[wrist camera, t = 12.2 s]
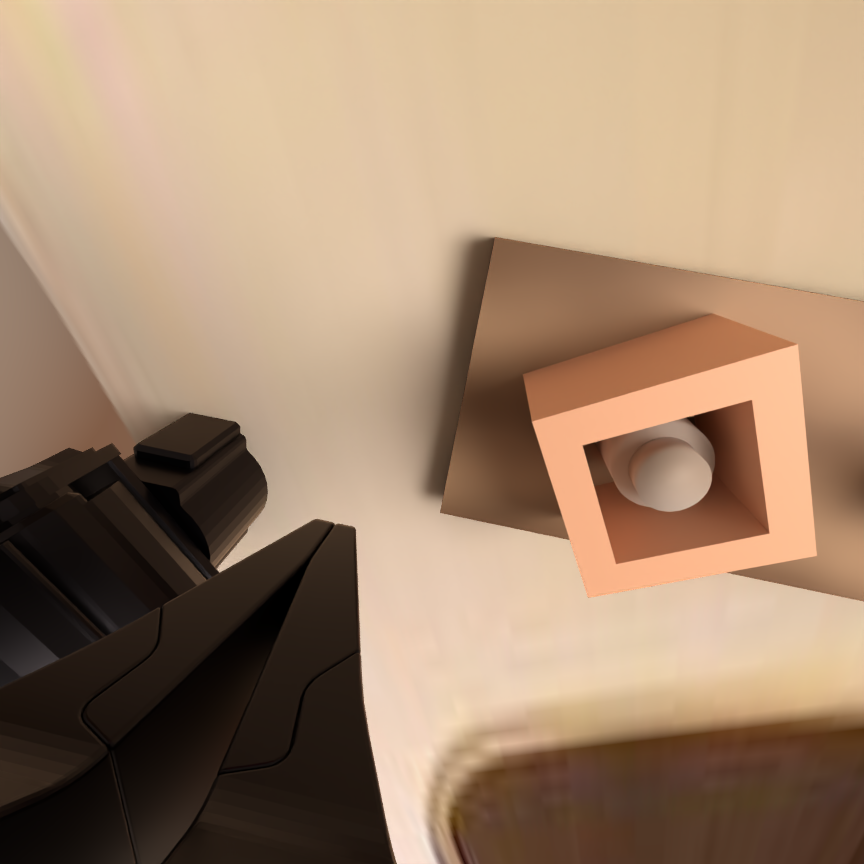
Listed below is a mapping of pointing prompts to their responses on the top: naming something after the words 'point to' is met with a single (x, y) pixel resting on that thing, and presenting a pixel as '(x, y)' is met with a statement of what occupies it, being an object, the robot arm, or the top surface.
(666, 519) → the collar
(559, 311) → the collar board
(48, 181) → the top surface
